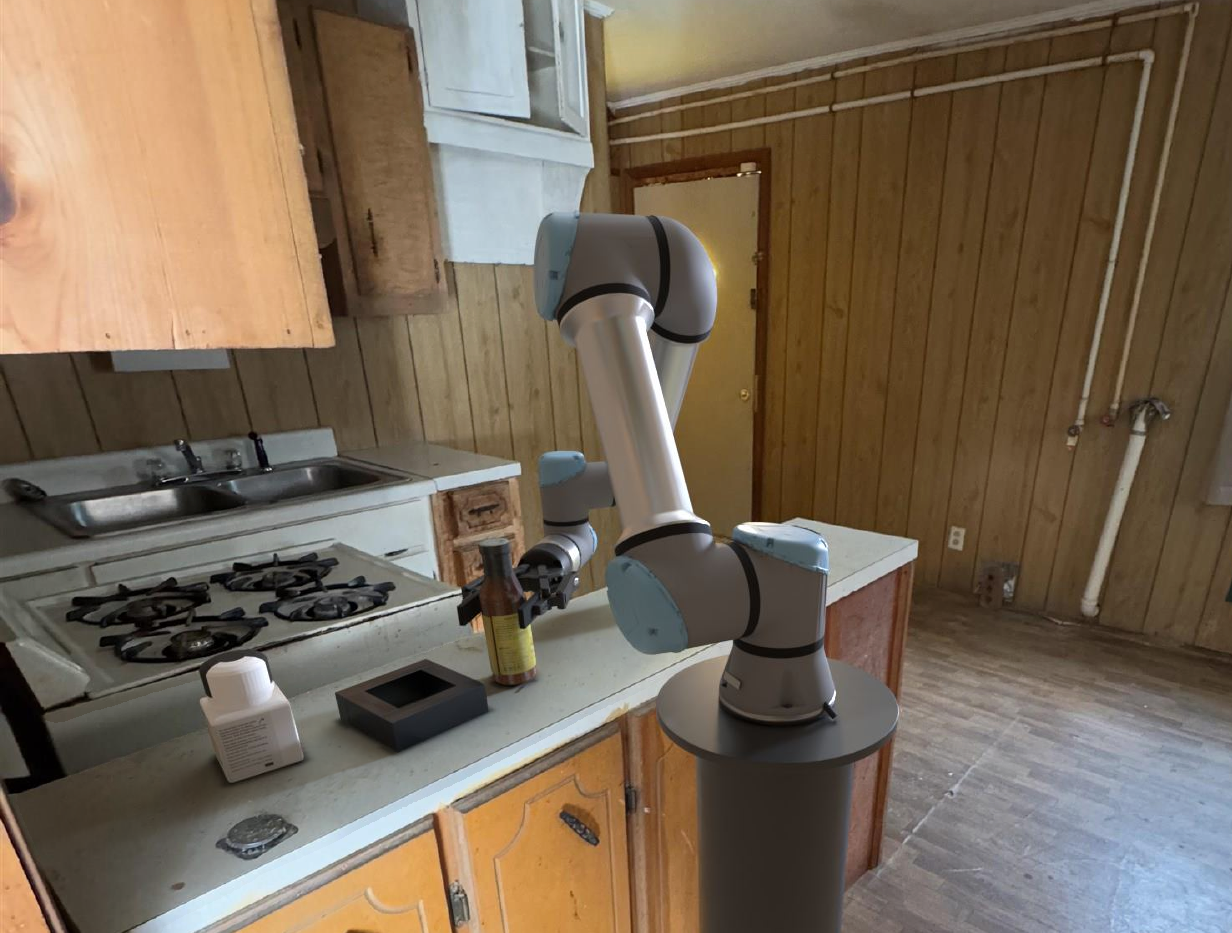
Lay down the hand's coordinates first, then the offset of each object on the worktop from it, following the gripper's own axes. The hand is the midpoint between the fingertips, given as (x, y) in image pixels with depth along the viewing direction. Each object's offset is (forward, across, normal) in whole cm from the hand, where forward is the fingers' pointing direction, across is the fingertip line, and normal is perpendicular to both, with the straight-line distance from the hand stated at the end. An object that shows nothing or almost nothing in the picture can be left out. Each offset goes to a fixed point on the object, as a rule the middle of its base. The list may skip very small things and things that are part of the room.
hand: (491, 617), depth 102 cm
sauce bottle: (-5, 0, -11) cm, 12 cm away
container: (+20, +21, -11) cm, 31 cm away
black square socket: (+8, +8, -11) cm, 16 cm away
